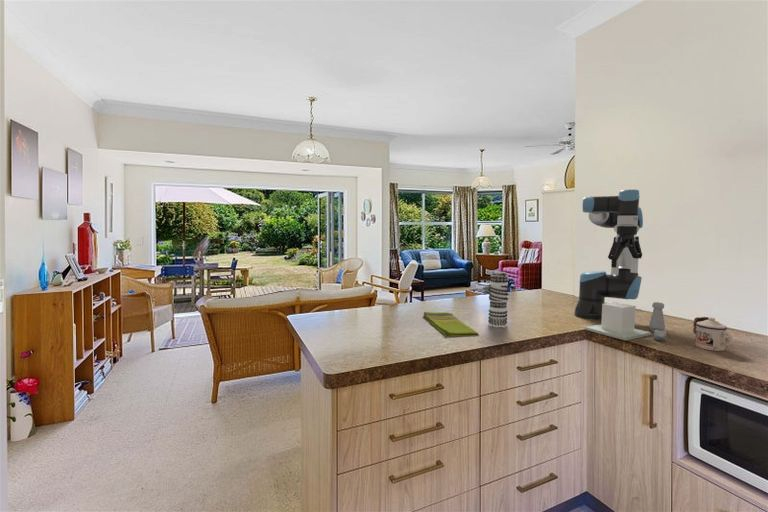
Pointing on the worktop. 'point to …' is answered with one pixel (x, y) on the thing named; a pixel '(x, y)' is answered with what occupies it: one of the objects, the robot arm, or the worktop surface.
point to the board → (623, 336)
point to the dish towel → (448, 324)
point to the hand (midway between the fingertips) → (624, 273)
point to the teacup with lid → (712, 335)
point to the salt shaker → (657, 317)
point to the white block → (618, 317)
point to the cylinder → (660, 335)
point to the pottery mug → (698, 321)
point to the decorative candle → (498, 299)
